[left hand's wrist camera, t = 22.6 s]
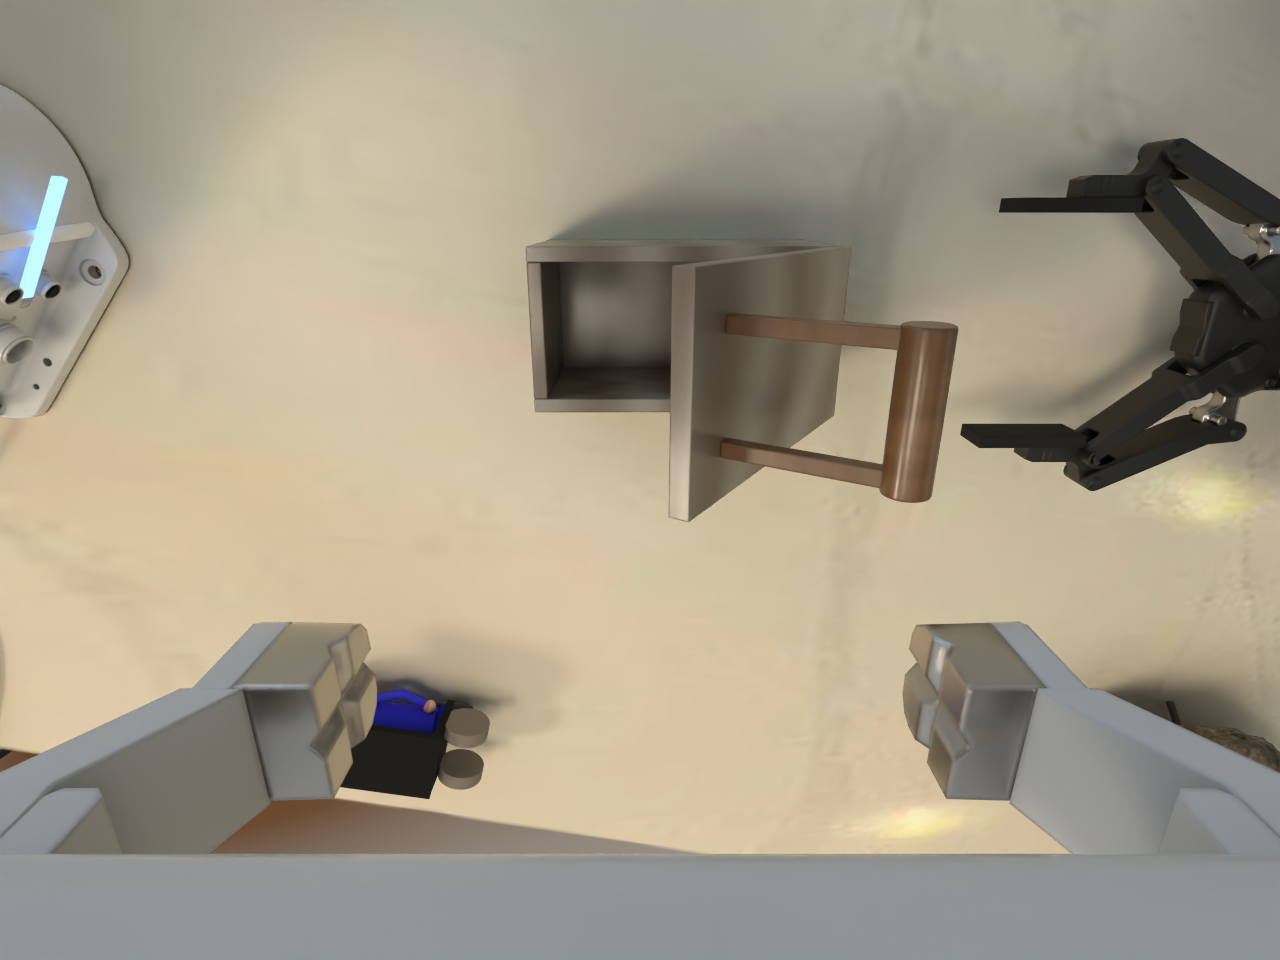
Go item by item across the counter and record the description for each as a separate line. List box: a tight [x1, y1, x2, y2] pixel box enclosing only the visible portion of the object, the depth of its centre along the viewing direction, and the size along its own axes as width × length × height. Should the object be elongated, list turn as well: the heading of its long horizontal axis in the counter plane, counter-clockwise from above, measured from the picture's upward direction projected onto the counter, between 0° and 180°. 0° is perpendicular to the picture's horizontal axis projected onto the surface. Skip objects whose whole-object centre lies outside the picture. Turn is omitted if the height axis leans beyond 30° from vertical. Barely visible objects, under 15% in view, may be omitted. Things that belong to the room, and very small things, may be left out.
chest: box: [526, 240, 836, 412], centre depth 44 cm, size 17×9×10 cm, turn 90°
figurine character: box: [340, 689, 490, 799], centre depth 58 cm, size 7×8×15 cm
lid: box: [669, 246, 958, 522], centre depth 30 cm, size 18×9×9 cm
